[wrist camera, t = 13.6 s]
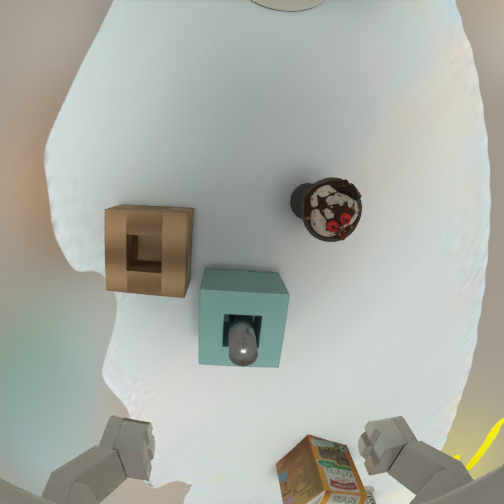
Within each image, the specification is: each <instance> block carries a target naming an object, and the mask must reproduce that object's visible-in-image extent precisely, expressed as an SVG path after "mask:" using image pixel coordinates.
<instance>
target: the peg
mask: <svg viewBox="0 0 504 504" xmlns="http://www.w3.org/2000/svg"><path fill="white" fill-rule="evenodd" d="M257 357H258V351H257V344H256V338H255V332H254V325H253V319H252V315H236V314H229V359H230V360H231V362H232V363H234V364H235V365H238V366H248V365H251V364H252V363H254V362H255V361H256V359H257Z"/></svg>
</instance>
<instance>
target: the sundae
mask: <svg viewBox="0 0 504 504" xmlns="http://www.w3.org/2000/svg"><path fill="white" fill-rule="evenodd" d="M361 197H362V196H361V194H360V193H359V191H358V190H357V189H356V187H355V186H354V184H352V183H350V184H349V182H348V181H347V180H343V179H340V178H326V179H322V180H320V181H317V182H316V183H314V184H310V183H306V184H303V185H300V186H299V187H297V188H296V189H295V190H294V192H293V194H292V196H291V208H292V210H293V212H294V213H295V215H296V216H297V217H299V218H301V219H303V222H304V224H305V227H306V228H307V230H308V231H309V232H310V234H311V235H313V236H314V237H315V238H317V239H319V240H322V241H327V242H336V241H340V240H344V239H345V238H346V237H348V236H349V235H350V234H351V233H352V232H353V231H354V230H355V228H356V226H357V224H358V222H359V220H360V218H361V213H362V204H361V199H360V198H361Z"/></svg>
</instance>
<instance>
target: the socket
mask: <svg viewBox="0 0 504 504" xmlns="http://www.w3.org/2000/svg"><path fill="white" fill-rule="evenodd" d="M193 209H194V208H182V207H164V206H143V205H118V206H115V207H111V208H108V209H105V268H106V285H107V286H106V287H107V290H108V291H117V292H126V293H136V294H146V295H157V296H169V297H181V298H185V295H186V292H187V289H188V286H189V283H190V271H191V246H192V226H193Z"/></svg>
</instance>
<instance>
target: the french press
mask: <svg viewBox="0 0 504 504" xmlns="http://www.w3.org/2000/svg"><path fill="white" fill-rule="evenodd" d="M364 489H365V491H366V493H367V497H366V500H365V502H366V501H367V500H369V499H370V501H369V502H367V503H366V504H369V503H372V504H376V502H375V499H374V497H373V495H372V493H373V491H374V487H371V486H364ZM365 502H364V503H365Z"/></svg>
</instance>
